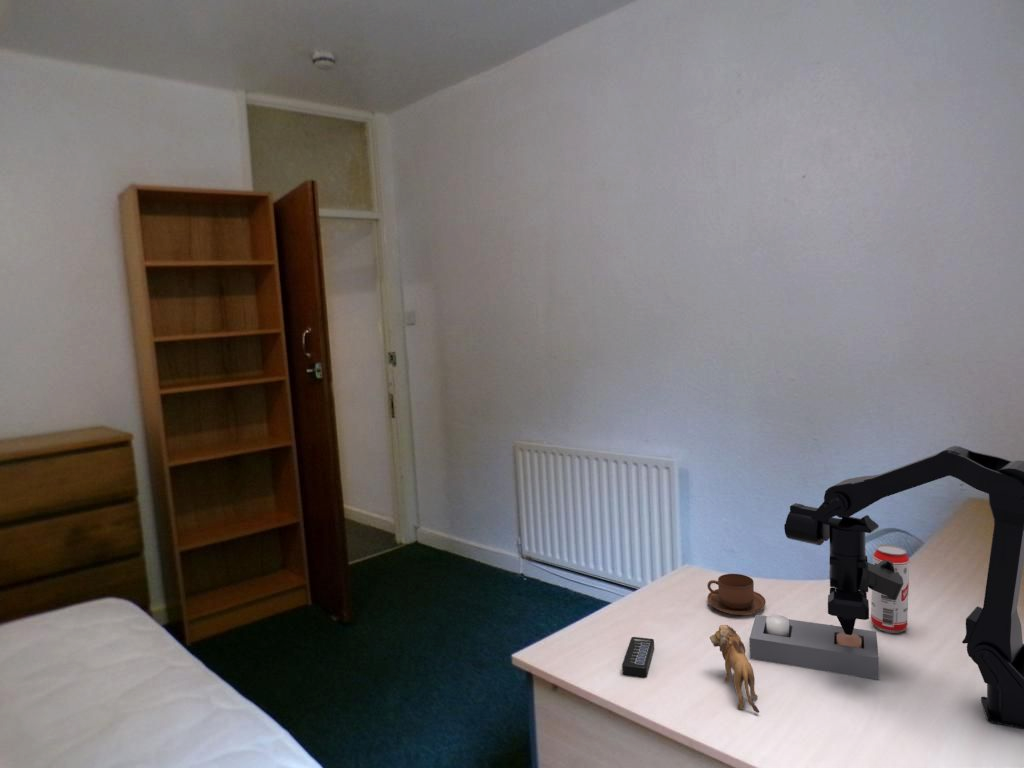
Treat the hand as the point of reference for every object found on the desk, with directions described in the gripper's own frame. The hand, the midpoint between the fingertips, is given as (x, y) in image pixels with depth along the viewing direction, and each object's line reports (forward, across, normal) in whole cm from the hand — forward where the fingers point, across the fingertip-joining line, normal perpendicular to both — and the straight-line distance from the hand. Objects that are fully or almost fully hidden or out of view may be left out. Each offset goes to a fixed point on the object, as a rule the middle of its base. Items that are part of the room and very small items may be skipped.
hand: (848, 633), depth 119 cm
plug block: (+5, 0, +6) cm, 8 cm away
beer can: (+5, +16, -7) cm, 18 cm away
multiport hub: (+6, -13, +35) cm, 38 cm away
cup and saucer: (+6, +16, +22) cm, 28 cm away
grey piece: (+3, 0, +12) cm, 12 cm away
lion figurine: (+5, -16, +17) cm, 24 cm away
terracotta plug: (+4, 0, 0) cm, 4 cm away
